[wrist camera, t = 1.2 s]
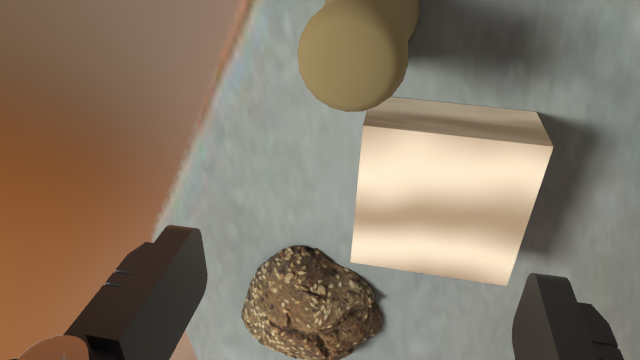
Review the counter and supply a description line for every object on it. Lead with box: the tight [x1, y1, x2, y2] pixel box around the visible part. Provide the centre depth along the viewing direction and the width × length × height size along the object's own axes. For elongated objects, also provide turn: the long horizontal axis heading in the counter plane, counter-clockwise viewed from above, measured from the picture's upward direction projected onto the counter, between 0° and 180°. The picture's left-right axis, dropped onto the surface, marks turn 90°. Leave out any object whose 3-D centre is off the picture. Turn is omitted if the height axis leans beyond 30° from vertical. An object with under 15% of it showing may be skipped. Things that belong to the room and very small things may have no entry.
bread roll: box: [241, 246, 382, 360], centre depth 43 cm, size 13×12×5 cm
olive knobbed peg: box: [298, 0, 419, 112], centre depth 25 cm, size 6×6×11 cm
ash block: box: [351, 97, 553, 286], centre depth 33 cm, size 11×11×5 cm
